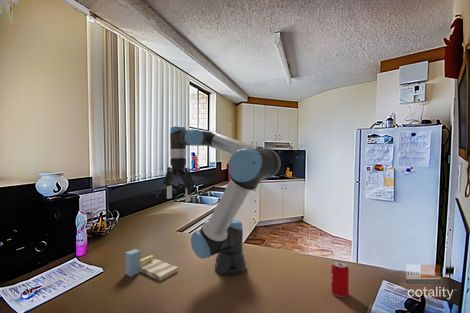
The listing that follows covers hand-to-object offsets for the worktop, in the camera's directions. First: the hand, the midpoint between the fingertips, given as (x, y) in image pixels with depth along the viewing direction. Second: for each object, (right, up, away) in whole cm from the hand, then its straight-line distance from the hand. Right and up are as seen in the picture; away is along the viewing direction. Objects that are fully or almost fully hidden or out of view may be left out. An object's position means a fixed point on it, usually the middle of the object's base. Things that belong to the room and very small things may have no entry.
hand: (178, 199), depth 123 cm
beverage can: (+70, -33, -27) cm, 81 cm away
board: (-9, -32, -7) cm, 34 cm away
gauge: (-16, -32, -7) cm, 37 cm away
